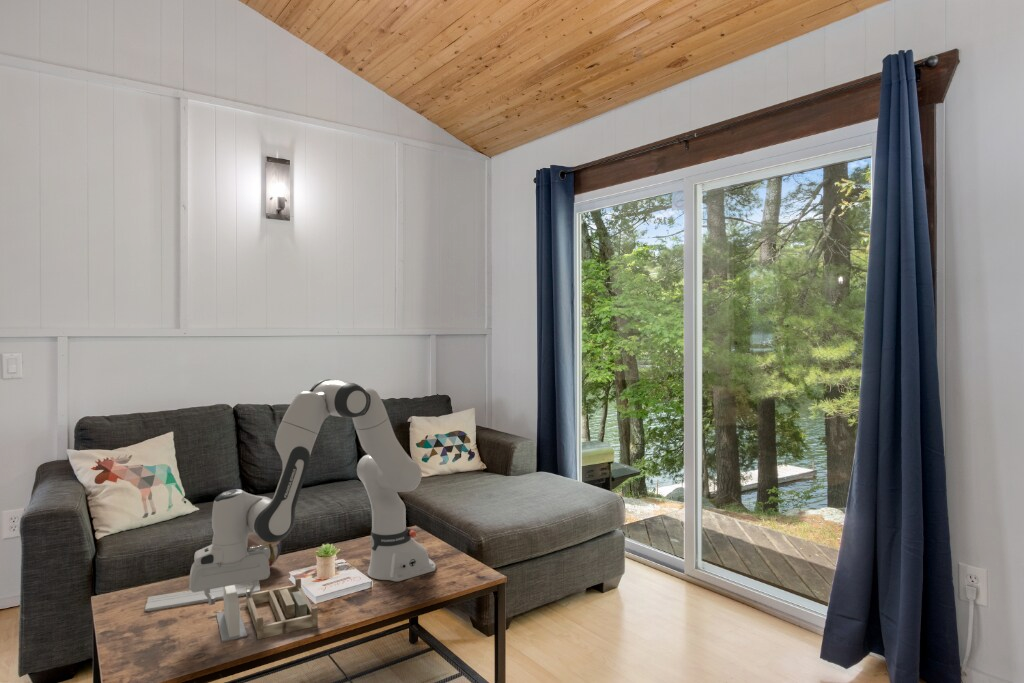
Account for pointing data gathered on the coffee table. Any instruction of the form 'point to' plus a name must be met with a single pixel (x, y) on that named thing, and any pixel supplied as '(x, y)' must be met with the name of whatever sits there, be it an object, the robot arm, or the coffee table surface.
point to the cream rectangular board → (231, 610)
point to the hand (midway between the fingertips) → (230, 600)
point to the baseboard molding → (193, 597)
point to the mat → (224, 629)
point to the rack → (280, 612)
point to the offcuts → (292, 603)
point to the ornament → (274, 547)
